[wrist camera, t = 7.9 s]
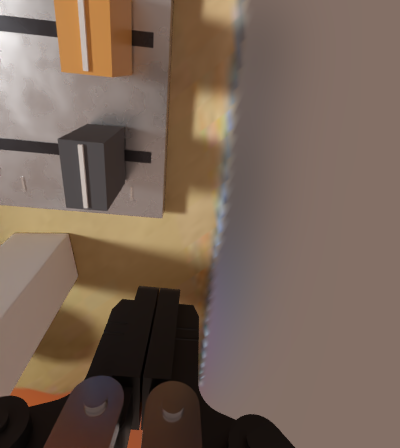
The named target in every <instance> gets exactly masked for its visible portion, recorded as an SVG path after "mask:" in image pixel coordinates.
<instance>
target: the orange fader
mask: <svg viewBox="0 0 400 448" xmlns="http://www.w3.org/2000/svg"><path fill="white" fill-rule="evenodd" d="M54 8H55V18H56V27H57V36H58V45H59V54H60V63H61V72H66V73H75V74H85V75H94V76H104V77H121V76H129V75H132V14H131V0H54Z"/></svg>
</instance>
